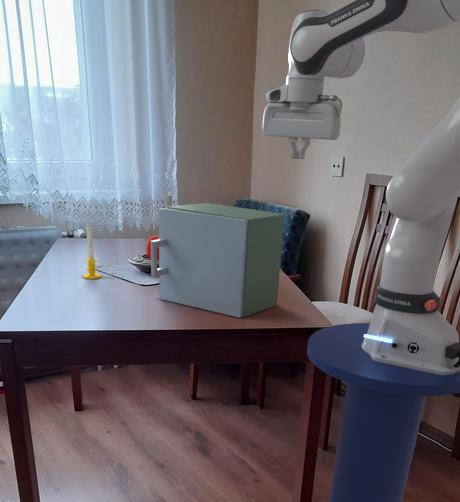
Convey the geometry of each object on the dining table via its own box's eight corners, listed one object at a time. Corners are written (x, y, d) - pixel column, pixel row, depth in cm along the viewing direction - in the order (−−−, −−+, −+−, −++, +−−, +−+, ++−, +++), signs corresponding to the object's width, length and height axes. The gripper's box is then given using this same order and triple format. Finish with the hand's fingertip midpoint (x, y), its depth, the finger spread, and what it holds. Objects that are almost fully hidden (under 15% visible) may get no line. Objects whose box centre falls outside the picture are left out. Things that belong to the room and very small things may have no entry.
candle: (103, 275, 173) (100, 223, 166) (97, 279, 168) (94, 226, 161) (86, 274, 173) (83, 222, 166) (81, 278, 169) (77, 225, 162)
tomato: (182, 269, 186) (182, 236, 181) (151, 270, 182) (150, 236, 177) (172, 262, 194) (172, 230, 189) (143, 263, 190) (142, 231, 186)
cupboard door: (228, 322, 136) (234, 222, 126) (147, 302, 148) (145, 209, 138) (242, 316, 141) (247, 220, 131) (161, 298, 153) (161, 207, 142)
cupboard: (242, 317, 142) (248, 219, 131) (168, 296, 155) (168, 206, 144) (276, 305, 153) (284, 214, 142) (204, 286, 167) (207, 202, 156)
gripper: (349, 96, 128) (340, 161, 134) (275, 95, 139) (270, 155, 145) (336, 94, 123) (328, 161, 130) (261, 93, 134) (257, 155, 140)
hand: (297, 158), depth 137 cm, fingers closed
